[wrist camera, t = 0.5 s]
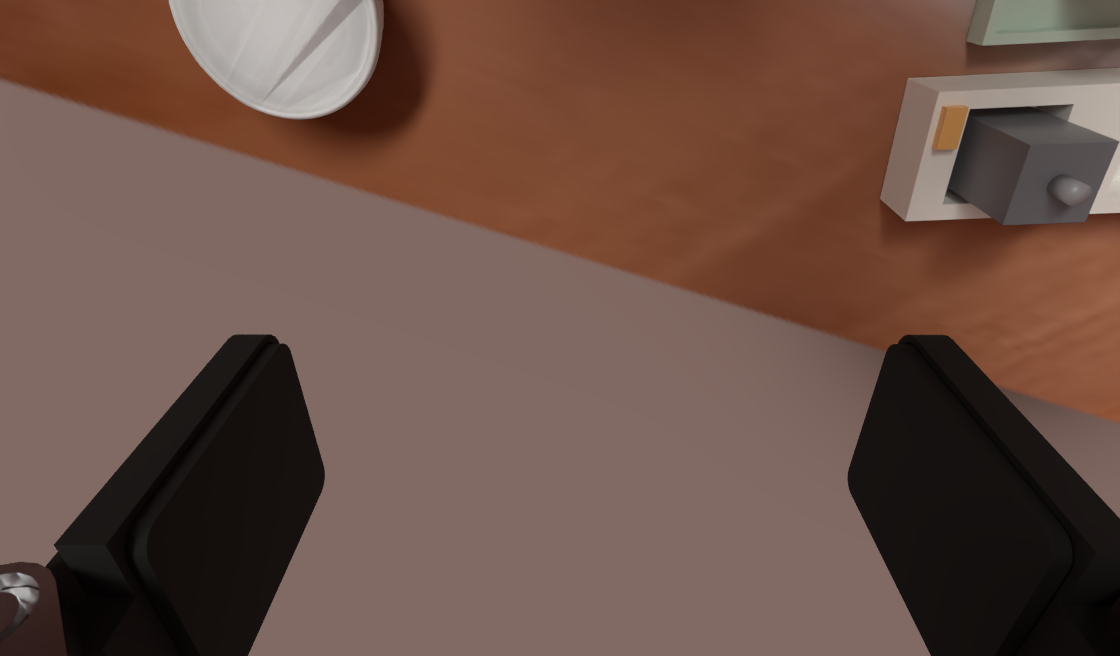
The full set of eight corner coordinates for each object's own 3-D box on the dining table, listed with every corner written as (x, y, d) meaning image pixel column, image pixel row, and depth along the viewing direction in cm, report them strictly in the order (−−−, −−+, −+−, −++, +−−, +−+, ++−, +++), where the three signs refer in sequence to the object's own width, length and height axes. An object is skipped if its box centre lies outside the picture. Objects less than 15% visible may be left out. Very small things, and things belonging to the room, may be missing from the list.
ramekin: (388, 120, 42) (366, 142, 37) (214, 72, 40) (169, 90, 36) (412, -73, 36) (389, -74, 32) (209, -137, 35) (156, -147, 30)
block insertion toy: (907, 78, 40) (1005, 121, 31) (1238, 61, 39) (1437, 101, 30) (879, 198, 44) (958, 268, 35) (1177, 186, 43) (1334, 253, 34)
